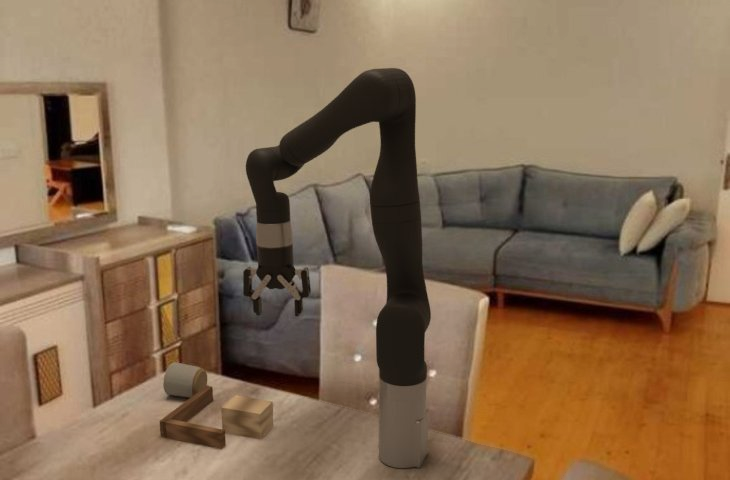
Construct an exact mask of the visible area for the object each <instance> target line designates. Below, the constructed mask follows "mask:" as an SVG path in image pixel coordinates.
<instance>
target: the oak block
mask: <svg viewBox="0 0 730 480" xmlns="http://www.w3.org/2000/svg"><path fill="white" fill-rule="evenodd" d="M273 406H274V402H273V401H272V400H267V399H262V398H261V399H260V398H255V397H249V396H243V395H236V394H235V395H233V397H231V398H230V399H229V400H228V401H226V402H225V403H224V404H223V405H222V406H220V407H221V429H223V430H225V434H229V435H234V436H238V437H244V438H250V439H256V440H261V441H262V439H263V438H264V437H265V436H266V435H267V434H268V433H269V431H270V430H272V428H273V427H274V407H273Z"/></svg>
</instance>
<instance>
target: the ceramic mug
mask: <svg viewBox="0 0 730 480" xmlns="http://www.w3.org/2000/svg"><path fill="white" fill-rule="evenodd" d="M206 386H208V375H207V371H206V369H204V368H202V367H201V366H200V367H199V366H197V365H190V364H186V363H180V362H176V361H174V362H173V361H172V363H170V364H169V366H168V367H167V368H166V371H165V373H164V377H163V390H164V393H165V394H166V395H168V396H175V397H182V398H183V397H184V398H188V399H190V398H191V397H192V396H194V395H195V394H196V393H198V392H199V391H200V390H202V389H203V388H204V387H206Z"/></svg>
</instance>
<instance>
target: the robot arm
mask: <svg viewBox="0 0 730 480" xmlns="http://www.w3.org/2000/svg"><path fill="white" fill-rule="evenodd" d="M416 100H417V98H416V90H415V85H414V82H413V80H412V78H411V77H410V75H409V74H408V73H407V72H406V71H405V70H403V69H401V68H396V67H387V68H386V67H385V68H372V69H368V70H365V71H362V72H361V73H360V74H358V75H357V76H356V77H355V78H354V79H353V80H351V82H349V84H348V85H346V87H345V88H344V89H343V90H341V92H340V93H339V94H338V95H337V96H335V98H334V99H332V100H331V101H330V102H329V103H328V104H327V105H326V106H324V107H323V108H322V109H321V110H319V111H318V112H317V113H315V114H314V115H313V116H311V117H310V118H308V119H307V120H305V121H304V122H302V123H300V124H299V125H297V126H295V127H294V128H292V129H291V130H290V131H287V133H285V135H283V136H282V137H281V139H280V141H279V144H278V145H276V146H275V145H274V146H269V147H260V148H255V149H253V150H252V151H250V152H249V154H248V155H247V158H246V162H245V172H246V177H247V180H248V183H249V186H250V189H251V193H252V195H253V198H254V202H255V214H256V228H255V230H256V231H255V232H256V233H255V235H256V236H255V237H256V238H255V242H256V251H257V254H256V255H257V268H252V267H251V266H247V267H246V268H245V269H244V270H243V275H242V276H243V277H242V278H243V283H242V284H243V285H242V288H243V289H242V291H243V293H242V294H243V296H244V297H249V298H251V299H252V306H253V307H252V309H253V313H254V314H255V315H256V316H257V317H258V316H259V317H260V316H261V315H262V313H263V308H262V306H263V304H262V296H261V294H262V292H263V291H264V290H265V289H266V288H267V289H268V290H274V289H275V290H276V289H277V290H284V289H286V290H287V292H288V293H289V294H291V295H292V296H293V298H294V302H293V303H294V316H295V317H300V315H301V314H302V313H303V309H304V302H303V299H305V298H309V296H310V294H311V292H312V290H311V279H310V269H309V268H308V267H303V268H302V269H301V268H299V269H296V268H295V266H294V247H293V246H294V245H293V243H294V242H293V229H292V228H293V227H292V224H291V205H290V198H289V195H287V193H284V192H281V191H277V189H276V187H275V182H276V181H282V180H286V179H288V178H290V177H292V176H293V175H295V174H296V173H298V172H299V171H300V170H301V169H302V168H303V167H304V165H305V164H307V163H309V162H311V161H312V160H314V159H316V158H317V157H319V156H321V155H323V154H324V153H326V152H327V151H328V150H329V149H330V148H331V147H332V146H333V145H334V144H336V142H337V141H338V139H340V137H342V136H343V135H344V134H346V133H347V132H349V131H352V130H353V129H356V128H358V127H359V128H360V127H361V126H363V125H366V124H370V123H378V124H379V125H378V126H379V136H380V145H379V146H380V148H379V149H380V150H379V155H378V160H377V163H376V167H375V170H374V173H373V178H372V181H371V184H370V185H371V186H370V191H369V205H370V206H369V208H370V216H371V218H370V219H371V226H372V231H373V236H374V239H375V243H376V245H377V247H378V250H379V252H380V255H381V256H382V257H381V258H382V260H383V263H384V267H385V274H386V303H385V304H384V306H383V307H382V308H381V310H380V311H379V313H378V316H377V318H376V323H375V343H376V344H375V345H376V346H375V348H376V349H375V350H376V351H375V352H376V363H377V367H378V447H377V448H378V459H379V461H381V462H382V463H383V464H385V465H386V466H389V467H392V468H396V469H397V468H398V469H410V468H421V466H422V464H423V462H424V461H425V459H426V457H427V454H428V450H429V449H428V447H429V445H428V443H429V418H430V417H429V409H427V384H428V379H427V377H428V376H427V375H428V364H427V362H426V361H425V339H426V336H425V335H426V332H427V330H428V328H429V326H430V323H431V319H432V315H431V314H432V313H431V312H432V311H431V306H430V302H429V296H428V290H427V285H426V281H425V280H426V279H425V274H424V265H423V232H422V231H423V230H422V212H421V210H422V209H421V200H420V193H419V192H420V191H419V190H420V189H419V182H418V165H417V155H416V154H417V151H416V119H417V118H416V117H417V115H416V112H417V111H416V110H417V109H416V108H417V105H416V103H417V101H416ZM255 276H257V277H258V279H259V280H260V281H261V282H260V283H259V284H258V286H257V288H256V289H255V290H254V289H253V286H252V285H253V279H254V277H255ZM295 276H297V278H298V279H299V280H301V288H302V290H301V289H300V287H298V284H297V283H296V281H294V277H295Z"/></svg>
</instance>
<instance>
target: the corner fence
mask: <svg viewBox="0 0 730 480" xmlns="http://www.w3.org/2000/svg"><path fill="white" fill-rule="evenodd" d="M213 390H214V389H213V386H211V385H206V387H204V388H203V389H202V390H200V391H199V392H198V393H196V394H195V395H194V396H192V397H191V398H188V399H187V400H186V401H184V402H182V404H180V405H178V407H176V408H175V409H174V410H172V411H171V412H169V413H168V414H167V415H166V416H164V417H163V418H161V419H160V420H159V431H160V434H159V435H160V437H163V438H167V439H172V440H178V441H182V442H187V443H191V444H196V445H200V446H206V447H210V448H215V449H220V450H222V449H224V448H225V447H226V446H227V443H226V433H225V430H223V429H222V428H216V427H212V426H207V425H201V424H198V423H197V424H196V423H192V422H188V421H189V420H191V419H192V418H193V417H194V416H196V415H197V414H199V412H201V411H202V410H203V409H205V408H206V407H207V406H208V405H209V404H211V403H212V402H213V401H214V393H213V392H214V391H213Z"/></svg>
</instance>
